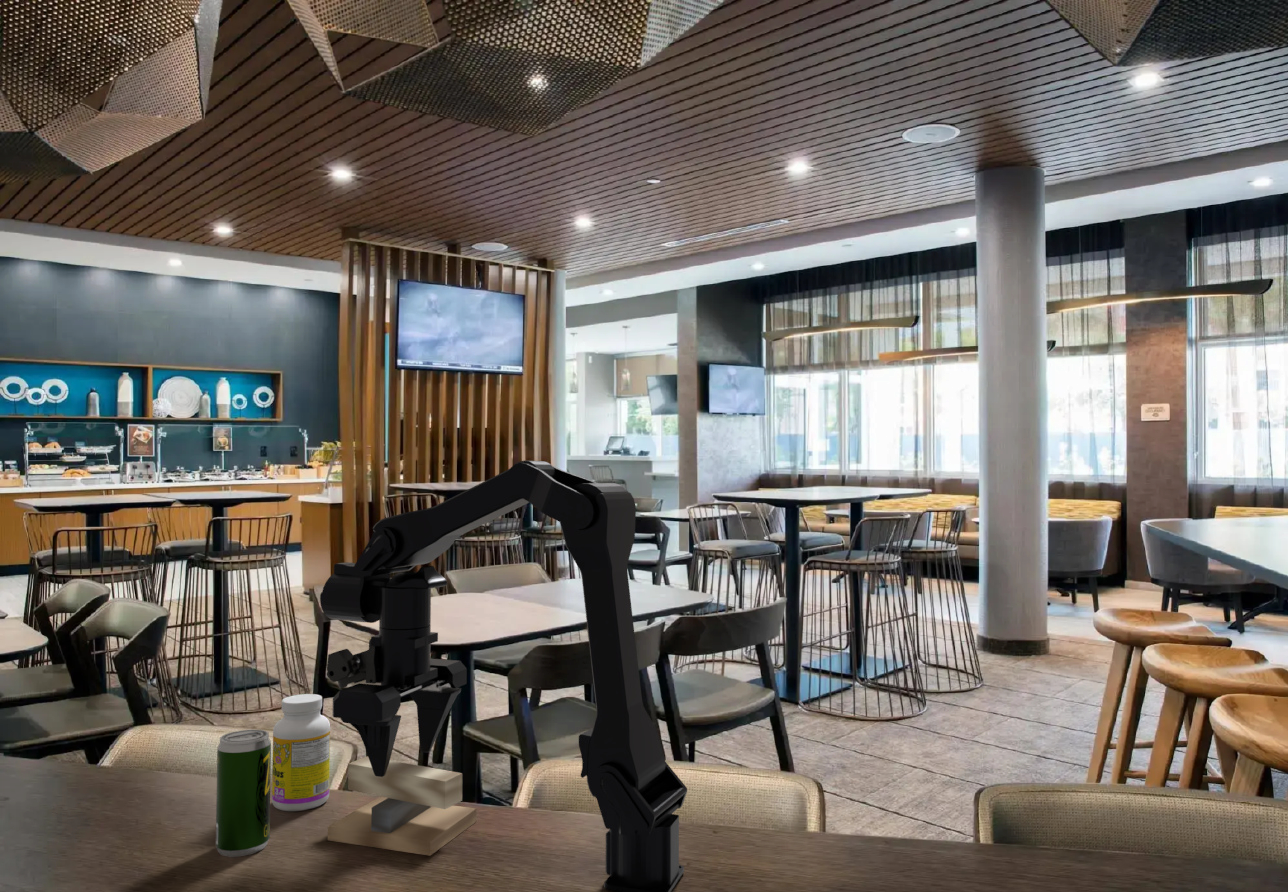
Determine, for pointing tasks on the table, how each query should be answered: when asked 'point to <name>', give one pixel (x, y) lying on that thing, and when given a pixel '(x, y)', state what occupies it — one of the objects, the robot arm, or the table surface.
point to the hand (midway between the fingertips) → (403, 763)
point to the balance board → (402, 826)
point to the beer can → (243, 792)
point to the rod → (407, 783)
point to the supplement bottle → (301, 755)
